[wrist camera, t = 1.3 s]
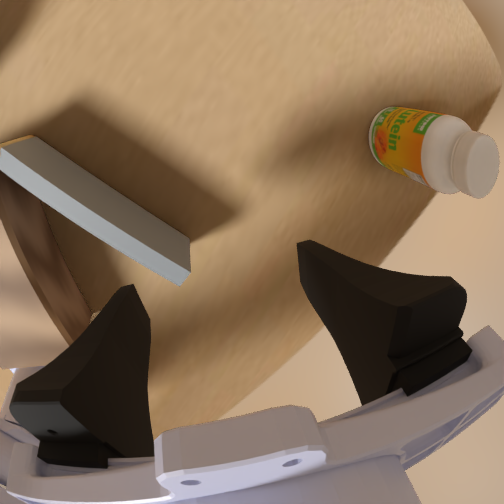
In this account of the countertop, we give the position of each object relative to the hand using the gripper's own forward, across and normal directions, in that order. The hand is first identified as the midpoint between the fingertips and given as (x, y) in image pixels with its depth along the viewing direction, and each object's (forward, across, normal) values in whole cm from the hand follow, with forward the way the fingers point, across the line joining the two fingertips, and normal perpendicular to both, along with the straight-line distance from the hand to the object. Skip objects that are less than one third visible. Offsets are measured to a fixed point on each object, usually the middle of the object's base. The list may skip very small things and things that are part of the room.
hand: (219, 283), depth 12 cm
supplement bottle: (+10, -16, -3) cm, 19 cm away
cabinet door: (+9, +7, -3) cm, 12 cm away
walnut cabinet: (+10, +17, -1) cm, 20 cm away
